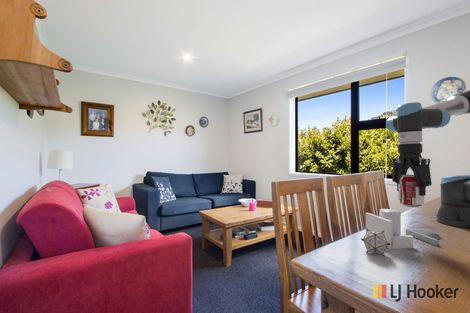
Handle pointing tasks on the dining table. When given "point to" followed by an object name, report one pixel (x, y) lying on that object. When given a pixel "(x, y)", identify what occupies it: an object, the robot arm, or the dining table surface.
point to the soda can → (408, 191)
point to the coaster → (428, 233)
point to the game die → (375, 242)
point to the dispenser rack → (394, 229)
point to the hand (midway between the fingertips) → (410, 201)
